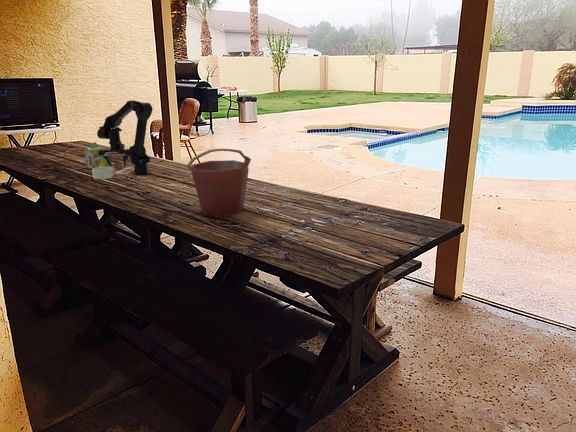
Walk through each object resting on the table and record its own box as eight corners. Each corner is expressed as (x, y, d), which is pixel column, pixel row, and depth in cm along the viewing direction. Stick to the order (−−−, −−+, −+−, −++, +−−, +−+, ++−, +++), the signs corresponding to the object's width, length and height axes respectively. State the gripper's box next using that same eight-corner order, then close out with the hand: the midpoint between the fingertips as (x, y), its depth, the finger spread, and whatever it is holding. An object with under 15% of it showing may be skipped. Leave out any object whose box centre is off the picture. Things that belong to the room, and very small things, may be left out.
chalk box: (94, 169, 282) (90, 144, 277) (85, 168, 287) (82, 143, 283) (108, 167, 289) (105, 142, 284) (99, 165, 294) (96, 141, 290)
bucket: (253, 203, 205) (251, 144, 198) (251, 218, 184) (248, 153, 177) (195, 204, 204) (191, 145, 197) (187, 220, 183) (181, 154, 176)
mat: (136, 169, 281) (136, 168, 281) (127, 174, 267) (127, 173, 267) (110, 169, 282) (110, 168, 281) (100, 174, 267) (100, 174, 267)
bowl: (115, 175, 265) (114, 166, 263) (109, 179, 255) (107, 170, 254) (97, 175, 265) (96, 166, 263) (90, 179, 255) (89, 170, 254)
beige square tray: (133, 168, 280) (132, 160, 279) (126, 173, 268) (125, 164, 266) (111, 169, 280) (110, 160, 279) (102, 173, 268) (101, 165, 267)
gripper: (136, 137, 276) (139, 164, 281) (103, 137, 277) (107, 164, 281) (129, 140, 266) (132, 168, 270) (95, 140, 266) (99, 168, 271)
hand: (118, 167), depth 273 cm, fingers open, 8 cm apart
